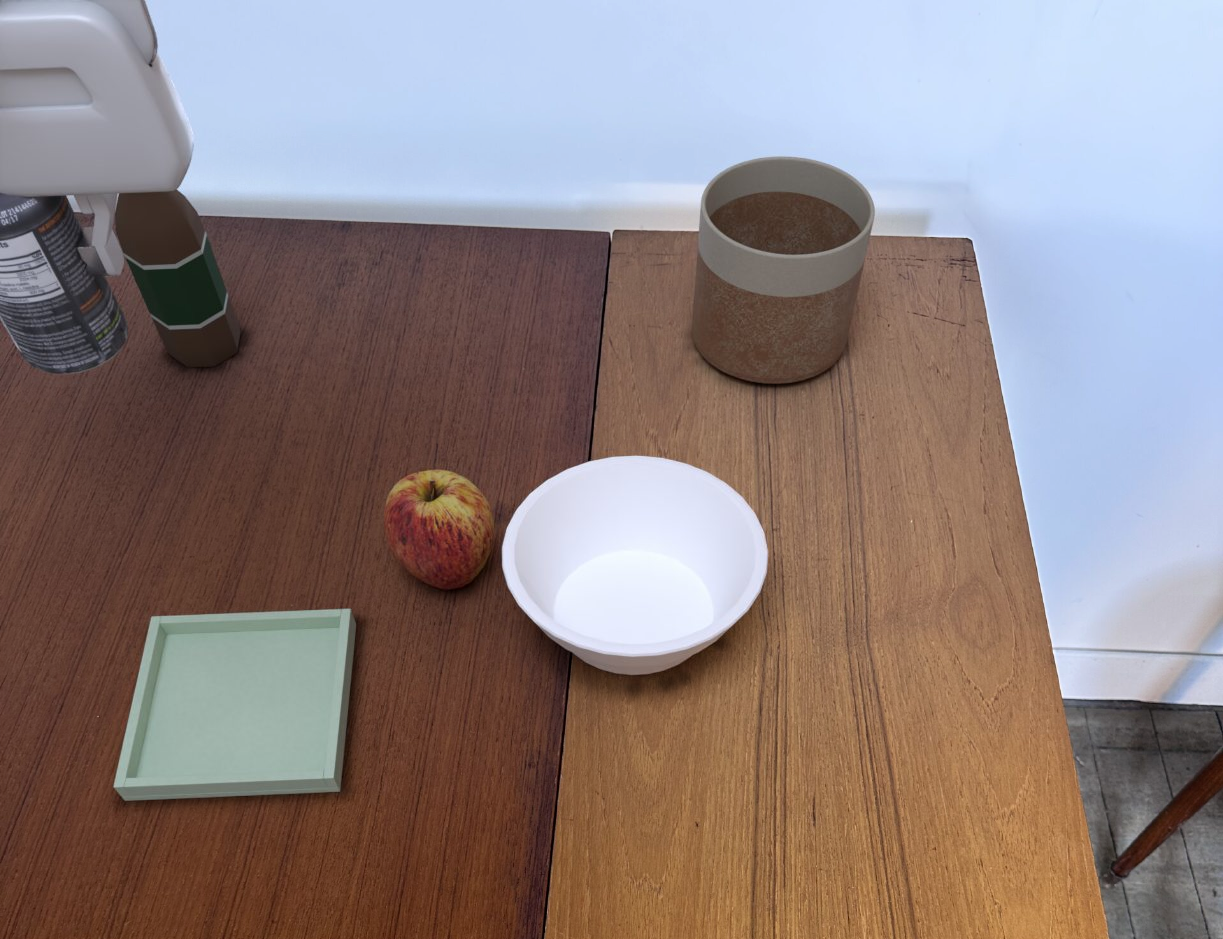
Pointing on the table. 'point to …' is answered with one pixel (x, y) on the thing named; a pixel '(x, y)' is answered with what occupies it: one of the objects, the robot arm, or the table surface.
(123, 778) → the tray
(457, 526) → the apple
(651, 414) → the table surface
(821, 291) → the planter
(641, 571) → the bowl
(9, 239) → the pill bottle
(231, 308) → the beer bottle
